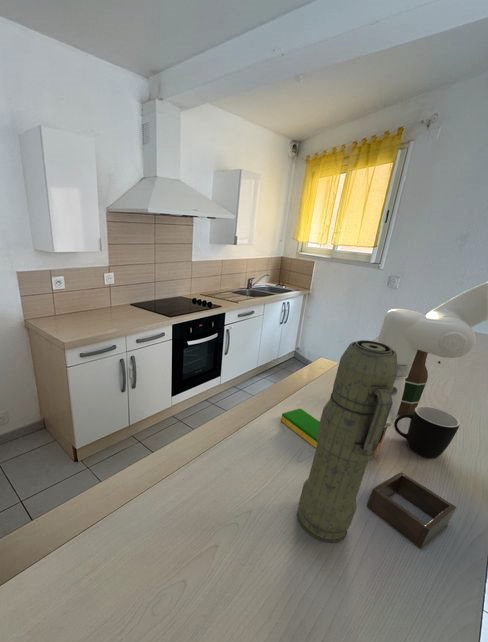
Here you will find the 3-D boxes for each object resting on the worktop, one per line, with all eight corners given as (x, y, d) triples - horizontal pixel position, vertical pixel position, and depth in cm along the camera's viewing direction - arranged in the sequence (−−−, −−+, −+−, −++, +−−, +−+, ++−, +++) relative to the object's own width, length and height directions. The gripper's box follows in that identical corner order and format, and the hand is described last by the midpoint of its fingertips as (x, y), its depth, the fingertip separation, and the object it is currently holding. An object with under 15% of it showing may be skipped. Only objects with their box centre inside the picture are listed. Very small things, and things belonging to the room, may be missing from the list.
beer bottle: (390, 400, 103) (415, 329, 94) (417, 411, 98) (447, 337, 89) (380, 407, 99) (405, 334, 89) (408, 420, 93) (438, 342, 84)
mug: (442, 446, 82) (457, 413, 78) (446, 467, 75) (463, 431, 71) (388, 430, 88) (400, 398, 84) (388, 448, 81) (400, 414, 77)
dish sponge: (319, 451, 78) (321, 443, 77) (279, 420, 89) (281, 413, 88) (339, 443, 81) (341, 436, 80) (298, 415, 92) (300, 407, 91)
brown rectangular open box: (447, 524, 60) (456, 507, 59) (420, 548, 56) (429, 530, 54) (394, 487, 68) (400, 471, 67) (366, 505, 63) (372, 488, 62)
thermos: (325, 493, 66) (372, 331, 52) (363, 547, 55) (434, 362, 42) (284, 497, 64) (322, 332, 51) (316, 554, 54) (374, 363, 40)
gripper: (425, 386, 62) (396, 459, 69) (395, 353, 78) (375, 415, 85) (383, 380, 64) (359, 451, 71) (362, 349, 80) (344, 410, 87)
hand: (368, 431), depth 78 cm, fingers closed on cup, 6 cm apart
